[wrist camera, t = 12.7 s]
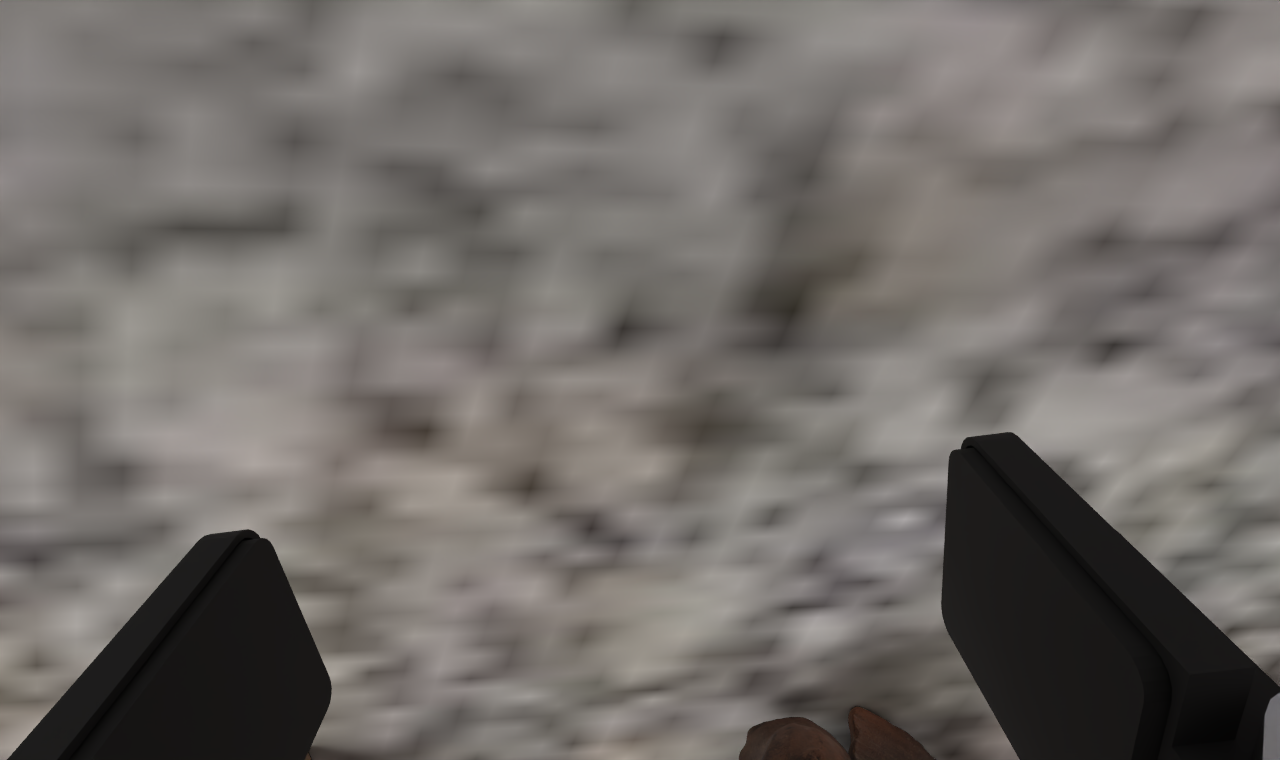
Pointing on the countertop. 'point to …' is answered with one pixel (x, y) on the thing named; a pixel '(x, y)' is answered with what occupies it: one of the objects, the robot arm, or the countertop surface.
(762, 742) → the pottery mug
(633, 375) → the countertop surface
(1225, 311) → the countertop surface
